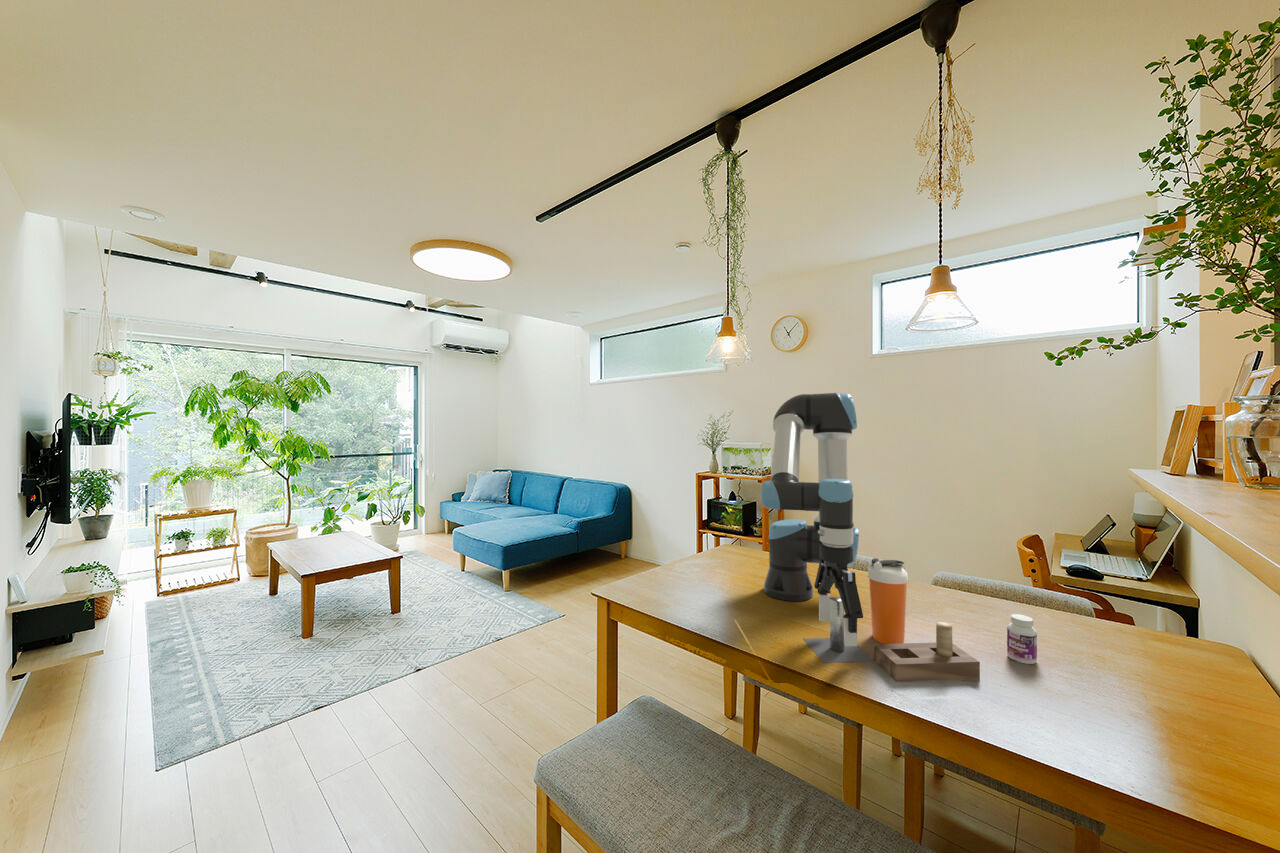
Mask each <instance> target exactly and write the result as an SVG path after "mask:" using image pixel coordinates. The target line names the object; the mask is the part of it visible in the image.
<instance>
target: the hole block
mask: <svg viewBox="0 0 1280 853" xmlns="http://www.w3.org/2000/svg"><path fill="white" fill-rule="evenodd" d="M952 646H953V657H941V656H939V655H938V654H937V653H936V642H904V643H902V644H883V643H874V644H873V660H874V661H873V662H875V663H877V665H879V667H881V669H882V670H884V671H885V672H886V673H887V674H888V675H889V676H890V677H891V678H892V679H893V680H894V681H895V682H897V683H899V682H921V681H922V682H926V681H927V682H928V681H929V682H931V681H954V680H955V681H956V680H957V681H958V680H959V681H960V680H962V681H963V682H972V681H973V682H975V681H977V682H979V681H980V680H981V669H980V668H981V666H980V664H981V663H980V661H979V660H978V659H977V658H976V657H974V656H971V655H970V654H969V653H967V652H966V651H964V650H963V649H961V648H960V647H959V646H957V645H955V644H953V643H952Z"/></svg>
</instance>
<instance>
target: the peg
mask: <svg viewBox="0 0 1280 853" xmlns="http://www.w3.org/2000/svg"><path fill="white" fill-rule="evenodd" d="M830 597H831V598H830V621H829V638H830V649H831V650H832V651H834V652H839V653H840V652H844V617H843V616H844V615H845V611H844V607H843V604H842V601H841V598H840V597H838V596H830Z"/></svg>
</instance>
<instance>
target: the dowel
mask: <svg viewBox="0 0 1280 853" xmlns="http://www.w3.org/2000/svg"><path fill="white" fill-rule="evenodd" d="M935 633H936V636H935V637H936V638H935V640H936V642H935V643H936V653H937V654H938V655H939V656H941V657H953V646H952V644H953V625H952V624H950V623H947V622H943V621H938V622H936V623H935Z"/></svg>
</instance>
